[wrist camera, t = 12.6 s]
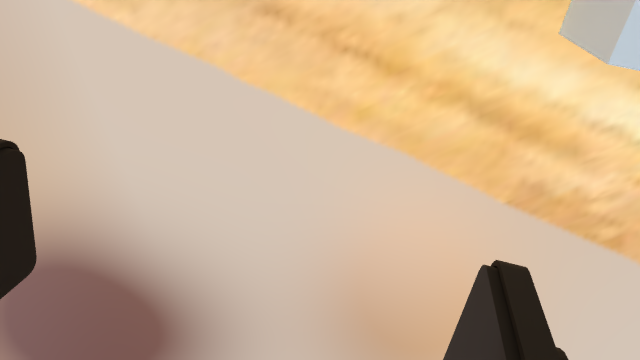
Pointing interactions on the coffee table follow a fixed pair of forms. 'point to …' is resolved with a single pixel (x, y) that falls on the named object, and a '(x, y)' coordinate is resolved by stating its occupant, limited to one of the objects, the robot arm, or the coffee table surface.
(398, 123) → the coffee table surface
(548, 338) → the robot arm
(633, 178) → the coffee table surface
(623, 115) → the coffee table surface
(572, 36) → the blue grey notched plate
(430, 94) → the coffee table surface
